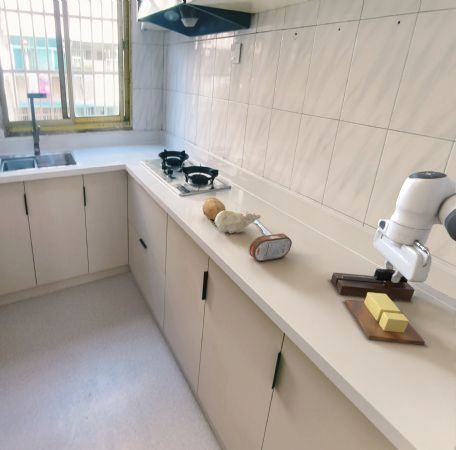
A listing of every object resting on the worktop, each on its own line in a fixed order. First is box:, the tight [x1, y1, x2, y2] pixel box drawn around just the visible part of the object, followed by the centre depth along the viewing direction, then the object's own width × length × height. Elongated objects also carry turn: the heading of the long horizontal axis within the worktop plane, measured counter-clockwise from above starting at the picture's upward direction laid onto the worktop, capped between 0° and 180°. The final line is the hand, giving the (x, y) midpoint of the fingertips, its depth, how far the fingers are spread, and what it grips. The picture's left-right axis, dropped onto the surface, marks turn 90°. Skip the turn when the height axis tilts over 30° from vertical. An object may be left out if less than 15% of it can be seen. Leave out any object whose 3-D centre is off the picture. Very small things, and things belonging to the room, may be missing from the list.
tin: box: [248, 233, 293, 262], centre depth 109 cm, size 15×3×8 cm, turn 110°
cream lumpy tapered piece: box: [214, 210, 262, 235], centre depth 129 cm, size 15×7×15 cm
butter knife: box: [247, 211, 273, 236], centre depth 137 cm, size 1×24×3 cm
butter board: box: [344, 299, 426, 346], centre depth 83 cm, size 12×14×1 cm
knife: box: [342, 268, 409, 284], centre depth 94 cm, size 16×2×6 cm, turn 83°
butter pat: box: [379, 312, 410, 333], centre depth 79 cm, size 4×2×4 cm, turn 83°
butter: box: [364, 292, 401, 321], centre depth 85 cm, size 4×7×4 cm, turn 173°
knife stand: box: [330, 271, 415, 302], centre depth 95 cm, size 18×7×4 cm, turn 83°
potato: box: [201, 196, 227, 221], centre depth 139 cm, size 10×14×8 cm
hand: (390, 277), depth 94 cm, fingers closed on knife, 2 cm apart
